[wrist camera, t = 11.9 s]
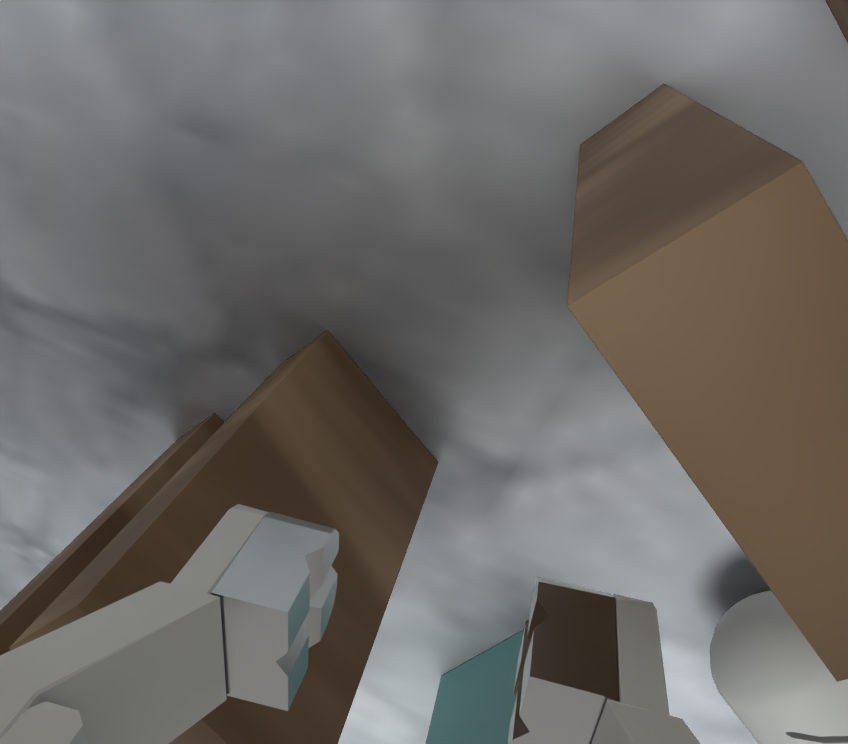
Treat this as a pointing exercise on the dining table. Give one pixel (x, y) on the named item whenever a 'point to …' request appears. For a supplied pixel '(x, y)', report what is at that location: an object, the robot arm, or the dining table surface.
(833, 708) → the clip-on lamp
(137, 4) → the dining table surface
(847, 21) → the walnut tile
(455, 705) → the teal tile
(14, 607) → the walnut tile
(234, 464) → the walnut tile
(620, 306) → the walnut tile
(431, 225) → the dining table surface
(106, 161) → the dining table surface
